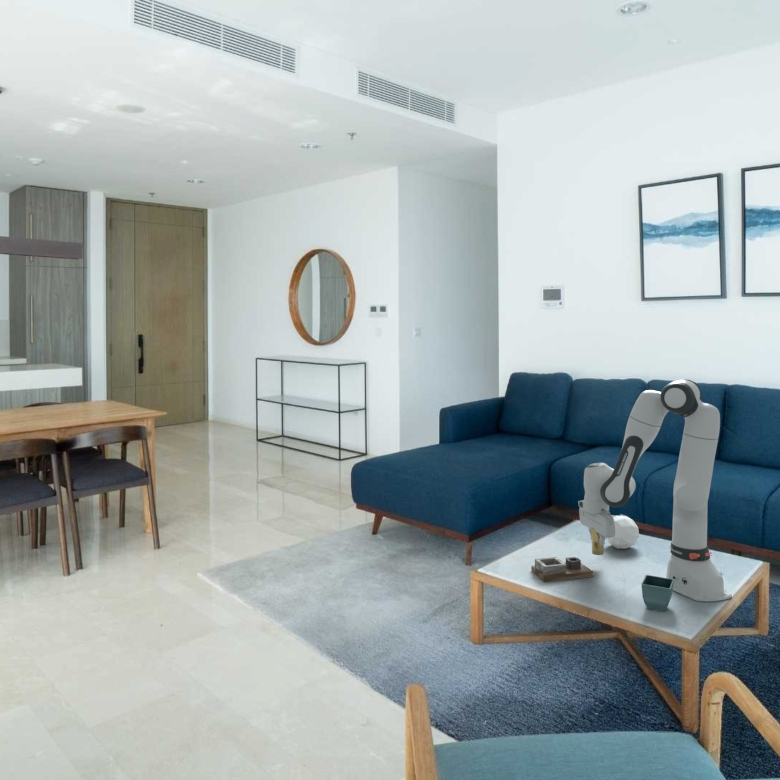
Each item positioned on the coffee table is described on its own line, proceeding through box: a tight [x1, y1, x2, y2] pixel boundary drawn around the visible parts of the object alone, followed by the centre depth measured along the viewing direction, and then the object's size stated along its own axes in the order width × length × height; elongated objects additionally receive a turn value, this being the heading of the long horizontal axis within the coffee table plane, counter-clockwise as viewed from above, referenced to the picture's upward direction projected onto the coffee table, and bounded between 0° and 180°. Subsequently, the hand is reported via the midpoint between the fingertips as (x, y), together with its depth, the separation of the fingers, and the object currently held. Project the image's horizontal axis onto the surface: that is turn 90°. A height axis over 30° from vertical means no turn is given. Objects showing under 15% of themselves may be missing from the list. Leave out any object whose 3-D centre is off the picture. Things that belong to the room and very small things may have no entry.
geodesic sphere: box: [605, 513, 640, 550], centre depth 279 cm, size 14×14×14 cm
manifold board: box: [530, 556, 594, 583], centre depth 252 cm, size 11×19×5 cm, turn 102°
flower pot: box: [641, 574, 674, 613], centre depth 221 cm, size 9×9×9 cm
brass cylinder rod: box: [591, 527, 605, 556], centre depth 257 cm, size 4×4×10 cm
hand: (597, 542), depth 257 cm, fingers closed on brass cylinder rod, 4 cm apart
